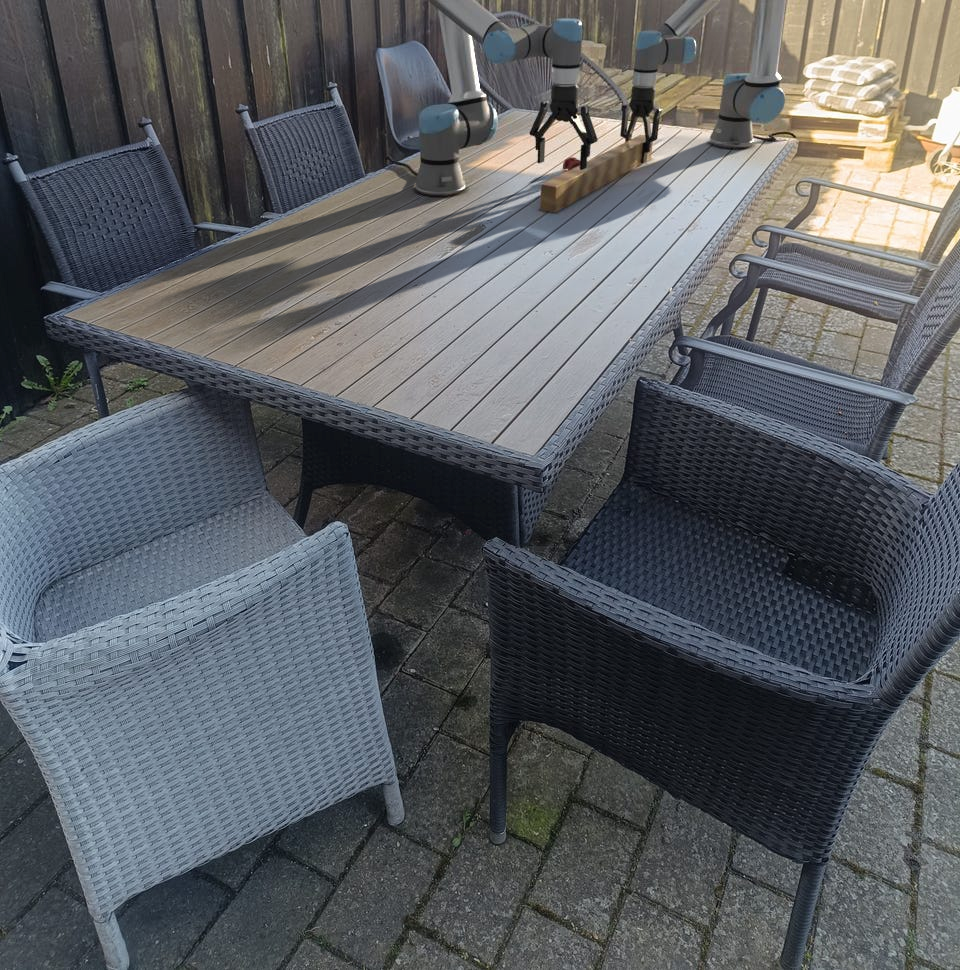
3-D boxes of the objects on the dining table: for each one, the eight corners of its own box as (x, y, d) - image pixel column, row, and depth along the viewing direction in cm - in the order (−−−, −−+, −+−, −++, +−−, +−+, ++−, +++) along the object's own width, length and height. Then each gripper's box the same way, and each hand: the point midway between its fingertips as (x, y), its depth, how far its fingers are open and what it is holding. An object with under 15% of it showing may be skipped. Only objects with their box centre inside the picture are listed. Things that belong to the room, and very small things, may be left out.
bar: (554, 212, 240) (555, 187, 236) (539, 210, 243) (541, 184, 238) (651, 158, 287) (653, 136, 283) (638, 156, 289) (640, 134, 285)
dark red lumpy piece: (577, 153, 276) (586, 160, 270) (577, 167, 278) (585, 173, 272) (561, 155, 275) (569, 162, 269) (561, 168, 277) (569, 175, 271)
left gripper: (613, 86, 224) (607, 168, 237) (532, 77, 235) (530, 156, 248) (600, 90, 219) (595, 174, 231) (518, 82, 230) (517, 162, 243)
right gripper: (674, 86, 268) (665, 162, 282) (623, 81, 276) (616, 154, 290) (665, 90, 263) (656, 167, 277) (613, 84, 271) (607, 159, 285)
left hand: (561, 165), depth 240 cm, fingers open, 13 cm apart
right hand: (636, 160), depth 283 cm, fingers closed on bar, 5 cm apart
